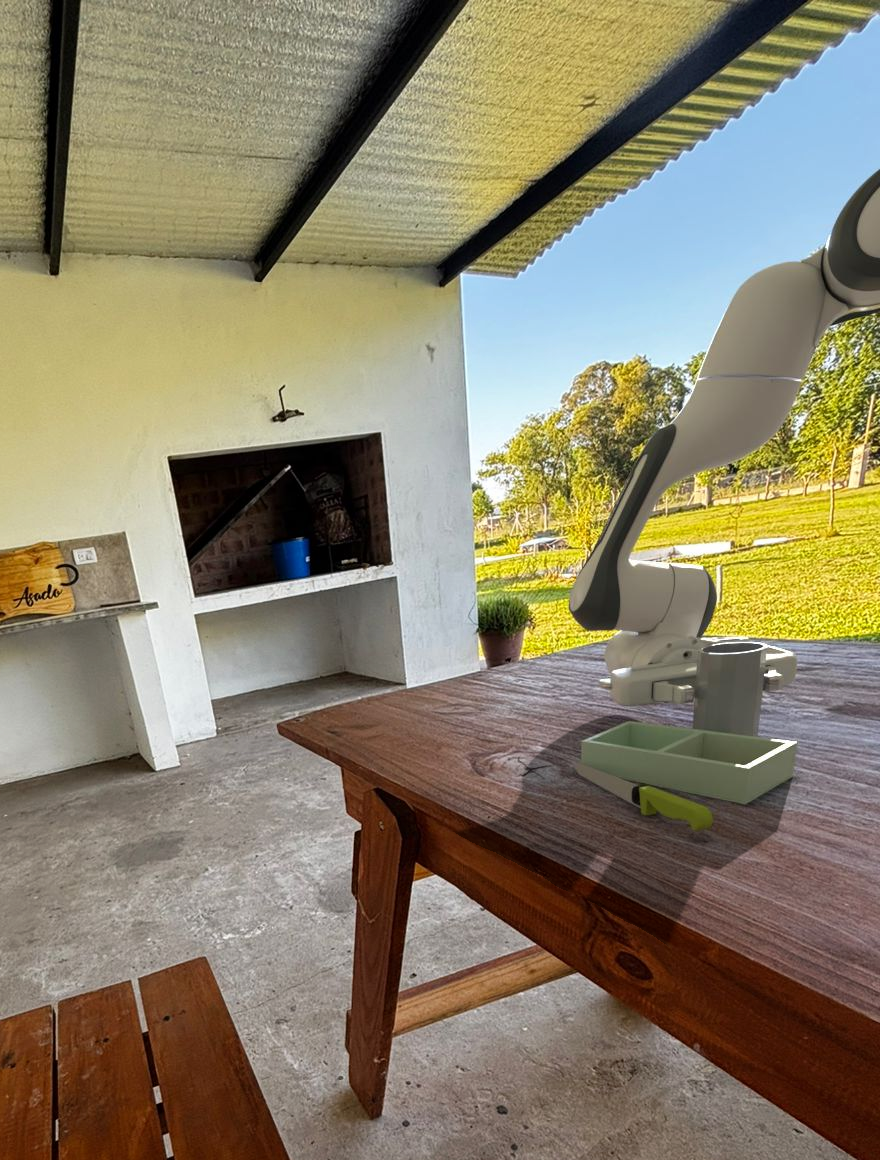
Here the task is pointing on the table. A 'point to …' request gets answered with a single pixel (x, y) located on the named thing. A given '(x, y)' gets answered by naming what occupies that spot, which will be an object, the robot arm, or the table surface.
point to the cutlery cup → (729, 687)
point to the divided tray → (692, 759)
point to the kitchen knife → (650, 798)
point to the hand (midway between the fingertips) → (731, 690)
